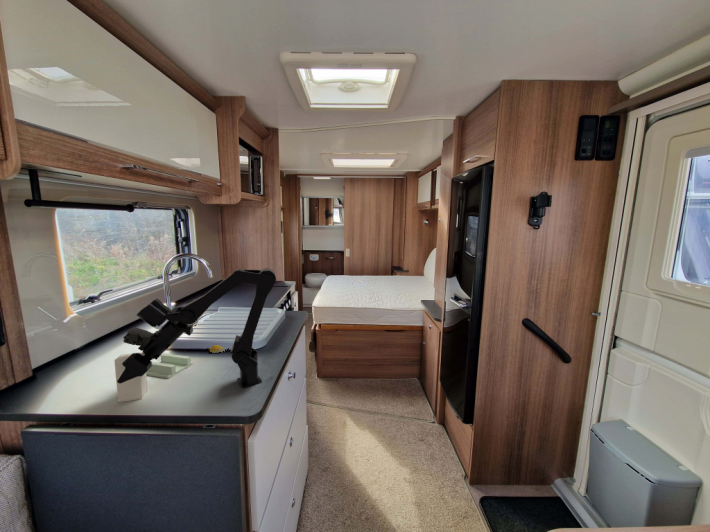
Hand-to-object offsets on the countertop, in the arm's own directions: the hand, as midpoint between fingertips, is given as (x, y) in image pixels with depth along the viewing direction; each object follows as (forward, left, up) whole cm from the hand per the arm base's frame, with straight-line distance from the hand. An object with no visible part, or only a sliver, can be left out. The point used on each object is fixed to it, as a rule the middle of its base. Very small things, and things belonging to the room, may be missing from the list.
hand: (126, 374), depth 83 cm
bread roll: (+22, -30, -8) cm, 38 cm away
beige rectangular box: (-1, -1, -7) cm, 7 cm away
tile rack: (+13, -11, -7) cm, 19 cm away
